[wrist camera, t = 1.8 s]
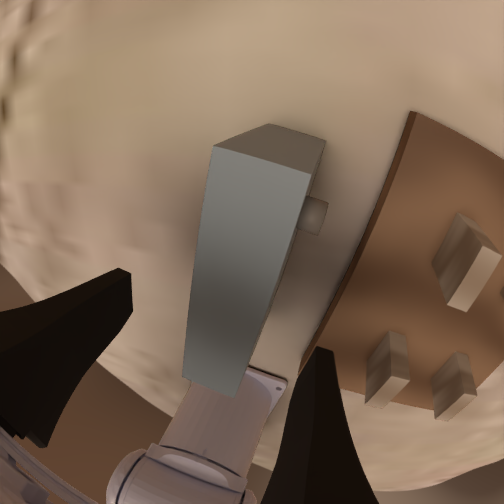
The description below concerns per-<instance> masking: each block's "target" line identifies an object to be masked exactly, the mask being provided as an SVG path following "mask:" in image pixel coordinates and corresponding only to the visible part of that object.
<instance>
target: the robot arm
mask: <svg viewBox="0 0 504 504" xmlns="http://www.w3.org/2000/svg"><path fill="white" fill-rule="evenodd" d="M132 312H133V303H132V283H131V273H129V272H127V271H125V270H122V269H120V268H117V269H115V270H112V271H110V272H107V273H105V274H103V275H101V276H99V277H96V278H94V279H92V280H90V281H88V282H85V283H83V284H81V285H79V286H76V287H74V288H72V289H70V290H67V291H65V292H62V293H60V294H57V295H55V296H53V297H50V298H48V299H45V300H42V301H39V302H36V303H33V304H30V305H27V306H23V307H20V308H16V309H11V310H7V311H3V312H0V504H53V503H52V502H50V501H49V500H47V498H48V496H49V492H48V491H47V490H46V489H44V488H43V487H42V486H41V485H40V484H39V483H38V482H37V481H35V480H34V479H33V478H32V477H30V476H29V475H28V474H26V473H25V472H24V471H22V470H21V469H19V468H18V467H17V466H16V461H17V462H18V463H19V464H20V465H21V466H22V467H23V468H25V469H26V470H27V471H28V472H29V473H30V474H32V475H33V476H34V477H35V478H37V480H39V481H40V482H41V483H42V484H44V485H45V486H46V487H47V488H49V489H50V490H51V491H53V492H54V493H55V494H57V495H58V496H59V497H61V498H62V499H63V500H65V501H66V502H68V503H69V504H98V503H97V502H95V501H93V500H91V499H90V498H89V497H87V496H85V495H84V494H82V493H81V492H79V491H78V490H76V489H75V488H73V487H72V486H70V485H69V484H67V483H66V482H65V481H64V480H62V479H61V478H60V477H58V476H57V475H56V474H54V473H53V472H51V471H50V470H49V469H48V468H46V467H45V466H44V465H43V464H41V463H40V462H39V461H38V460H37V459H35V458H34V457H33V456H32V455H31V454H29V453H28V452H27V451H26V450H25V449H24V448H23V447H21V446H20V445H19V444H18V443H17V442H16V441H15V440H14V439H13V437H14V436H15V435H17V436H19V437H20V438H21V439H24V438H25V436H26V437H27V438H28V439H30V440H31V441H32V442H33V443H34V444H35V445H36V446H38V447H39V448H45V447H47V446H48V443H49V440H50V438H51V435H52V433H53V431H54V428H55V426H56V424H57V422H58V419H59V417H60V415H61V413H62V411H63V409H64V407H65V405H66V404H67V402H68V400H69V399H70V397H71V395H72V393H73V392H74V390H75V388H76V386H77V385H78V384H79V382H80V380H81V379H82V377H83V376H84V374H85V373H86V372H87V370H88V369H89V368H90V367H91V365H92V364H93V363H94V362H95V361H96V359H97V358H98V357H99V356H100V355H101V353H102V352H103V351H104V350H105V349H106V348H107V346H108V345H109V344H110V343H111V342H112V340H113V339H114V338H115V337H116V336H117V334H118V333H119V332H120V331H121V329H122V328H123V326H124V325H125V323H126V322H127V320H128V319H129V317H130V315H131V314H132ZM286 387H287V382H286V381H285V380H283V379H280V378H277V377H274V376H272V375H269V374H266V373H263V372H260V371H257V370H255V369H252V368H249V367H247V369H246V372H245V374H244V376H243V379H242V381H241V384H240V386H239V389H238V391H237V393H236V396H235V398H232V397H230V396H227V395H224V394H222V393H219V392H217V391H214V390H212V389H209V388H207V387H205V386H202V385H200V384H197V383H195V382H193V381H192V383H191V386H190V388H189V390H188V392H187V394H186V396H185V397H184V399H183V401H182V403H181V405H180V406H179V408H178V410H177V412H176V414H175V415H174V417H173V419H172V421H171V423H170V425H169V426H168V428H167V430H166V432H165V434H164V435H163V437H162V439H161V441H160V443H159V445H156V444H154V443H152V444H151V446H150V447H149V449H148V451H147V450H144V449H140V450H137V451H135V452H131V453H129V454H128V455H127V456H126V457H125V458H124V459H123V460H122V461H121V462H120V463H119V465H118V466H117V468H116V469H115V471H114V473H113V475H112V477H111V479H110V481H109V484H108V487H107V492H106V499H107V501H106V504H257V500H256V498H255V496H254V495H253V491H251V490H247V489H246V490H244V489H245V487H246V484H247V481H248V480H247V479H245V478H246V476H247V473H248V470H249V467H250V465H251V462H252V459H253V456H254V453H255V450H256V448H257V445H258V442H259V439H260V436H261V433H262V430H263V427H264V424H265V421H266V419H267V418H268V416H269V415H270V413H271V411H272V410H273V408H274V407H275V405H276V403H277V402H278V400H279V399H280V397H281V395H282V394H283V392H284V390H285V389H286ZM261 504H379V502H378V501H377V499H376V497H375V495H374V493H373V491H372V488H371V486H370V484H369V482H368V480H367V478H366V475H365V473H364V471H363V468H362V466H361V463H360V461H359V458H358V455H357V452H356V450H355V447H354V444H353V440H352V437H351V434H350V430H349V427H348V423H347V419H346V415H345V411H344V407H343V402H342V398H341V393H340V388H339V382H338V377H337V371H336V364H335V356H334V352H333V351H332V350H328V349H325V348H322V347H319V346H316V347H315V349H314V351H313V353H312V354H311V356H310V358H309V359H308V361H307V363H306V364H305V366H304V368H303V369H302V371H301V373H300V374H299V376H298V378H297V381H296V384H295V387H294V390H293V393H292V396H291V400H290V403H289V408H288V413H287V418H286V422H285V427H284V432H283V436H282V441H281V446H280V450H279V454H278V458H277V461H276V465H275V467H274V470H273V473H272V476H271V479H270V481H269V484H268V486H267V489H266V491H265V494H264V496H263V499H262V501H261Z"/></svg>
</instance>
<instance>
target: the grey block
mask: <svg viewBox="0 0 504 504" xmlns="http://www.w3.org/2000/svg"><path fill="white" fill-rule="evenodd" d="M325 142H326V141H325V140H322V139H319V138H316V137H313V136H310V135H306V134H303V133H300V132H297V131H293V130H290V129H286V128H283V127H279V126H276V125H272V124H266V125H263V126H261V127H258V128H255V129H253V130H250V131H248V132H245V133H242V134H240V135H237V136H235V137H233V138H230V139H228V140H225V141H223V142H220V143H218V144H216V145H213V148H212V154H211V159H210V165H209V170H208V176H207V182H206V188H205V194H204V200H203V206H202V213H201V219H200V226H199V233H198V240H197V247H196V254H195V261H194V269H193V277H192V285H191V293H190V302H189V310H188V320H187V329H186V339H185V349H184V361H183V372H182V377H184V378H186V379H188V380H190V381H193V382H195V383H197V384H200V385H202V386H205V387H207V388H209V389H212V390H214V391H217V392H219V393H222V394H224V395H227V396H230V397H232V398H235V396H236V393H237V391H238V389H239V386H240V384H241V381H242V379H243V376H244V374H245V372H246V369H247V367H248V364H249V362H250V359H251V357H252V354H253V352H254V349H255V347H256V344H257V342H258V339H259V337H260V334H261V332H262V329H263V327H264V324H265V321H266V319H267V316H268V314H269V311H270V308H271V305H272V302H273V300H274V297H275V294H276V291H277V288H278V286H279V283H280V280H281V277H282V274H283V271H284V268H285V265H286V263H287V260H288V257H289V254H290V251H291V248H292V245H293V242H294V239H295V236H296V233H297V230H298V229H300V230H303V231H305V232H308V233H311V234H314V235H317V236H318V234H319V231H320V229H321V226H322V223H323V221H324V218H325V214H326V211H327V208H328V203H327V202H324V201H321V200H319V199H316V198H313V197H310V196H309V193H310V190H311V187H312V184H313V181H314V178H315V175H316V171H317V168H318V165H319V162H320V158H321V155H322V152H323V149H324V145H325Z"/></svg>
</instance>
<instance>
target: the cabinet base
mask: <svg viewBox="0 0 504 504" xmlns="http://www.w3.org/2000/svg"><path fill="white" fill-rule="evenodd" d="M316 346H319V347H322V348H325V349H328V350H332V351H333V352H334V356H335V364H336V371H337V377H338V382H339V388H341V389H345V390H349V391H352V392H356V393H360V394H363V395H365V405H368V406H372V407H376V408H380V409H382V408H383V407H384V406H386V405H387V404H388V403H389V402H390V401H392V402H396V403H400V404H405V405H410V406H414V407H419V408H424V409H429V410H434V415H435V420H441V421H449V420H450V419H452V418H453V417H454V416H455V415H456V414H458V413H459V412H460V411H461V410H462V409H463V408H465V407H466V406H467V405H468V404H469V403H470V402H471V401H472V400H474V399H475V398H476V397H477V392H476V388H477V387H478V386H479V385H480V384H481V383H482V382H483V381H484V380H485V379H486V378H487V377H488V376H489V375H490V374H491V373H492V372H493V371H494V370H495V369H496V368H497V367H498V366H499V365H500V364H501V363H502V361H503V360H504V160H503V159H501V158H500V157H498V156H497V155H495V154H494V153H492V152H490V151H489V150H487V149H485V148H484V147H482V146H481V145H479V144H477V143H475V142H474V141H472V140H470V139H468V138H467V137H465V136H463V135H461V134H459V133H458V132H456V131H454V130H452V129H450V128H448V127H446V126H444V125H442V124H440V123H438V122H436V121H434V120H432V119H430V118H428V117H426V116H424V115H422V114H419V113H417V112H413V111H410V114H409V117H408V120H407V123H406V126H405V129H404V132H403V135H402V138H401V141H400V144H399V147H398V149H397V152H396V155H395V158H394V161H393V163H392V166H391V169H390V171H389V174H388V177H387V179H386V182H385V185H384V187H383V190H382V192H381V195H380V197H379V200H378V202H377V205H376V207H375V210H374V212H373V214H372V217H371V219H370V222H369V224H368V226H367V229H366V231H365V233H364V235H363V238H362V240H361V242H360V245H359V247H358V249H357V251H356V253H355V256H354V258H353V260H352V262H351V264H350V266H349V269H348V271H347V273H346V275H345V277H344V279H343V281H342V283H341V285H340V287H339V289H338V291H337V293H336V295H335V297H334V299H333V301H332V303H331V305H330V307H329V309H328V311H327V313H326V315H325V317H324V319H323V321H322V323H321V325H320V327H319V329H318V330H317V332H316V334H315V336H314V338H313V340H312V342H311V343H310V345H309V347H308V349H307V351H306V352H305V354H304V356H303V358H302V360H301V363H300V367H299V371H298V375H299V374H300V373H301V371H302V369H303V368H304V366H305V364H306V363H307V361H308V359H309V358H310V356H311V354H312V353H313V351H314V349H315V347H316Z"/></svg>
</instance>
